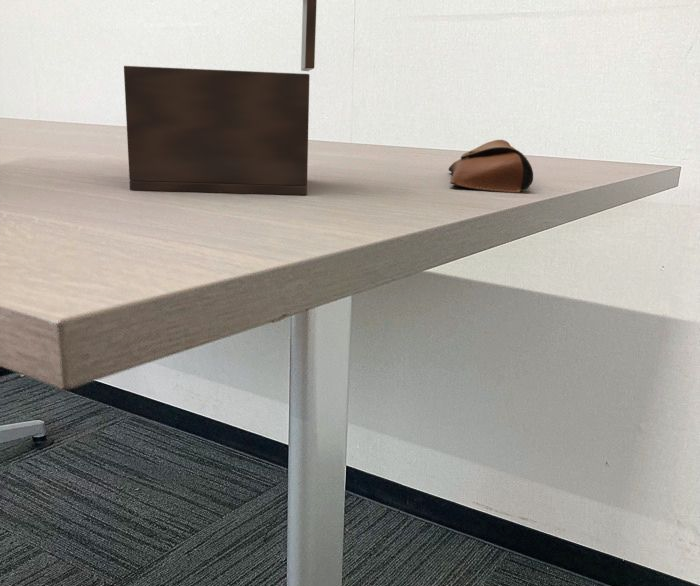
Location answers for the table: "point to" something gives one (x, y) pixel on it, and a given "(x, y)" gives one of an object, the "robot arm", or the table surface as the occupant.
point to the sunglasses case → (493, 169)
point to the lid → (308, 35)
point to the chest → (217, 130)
